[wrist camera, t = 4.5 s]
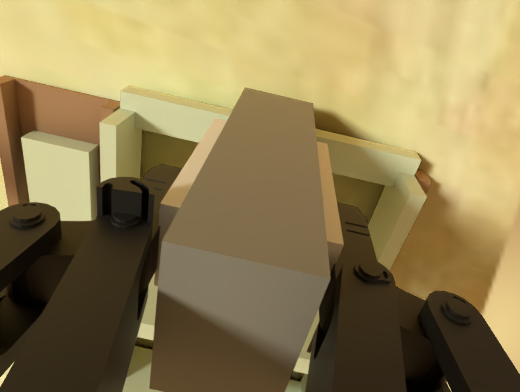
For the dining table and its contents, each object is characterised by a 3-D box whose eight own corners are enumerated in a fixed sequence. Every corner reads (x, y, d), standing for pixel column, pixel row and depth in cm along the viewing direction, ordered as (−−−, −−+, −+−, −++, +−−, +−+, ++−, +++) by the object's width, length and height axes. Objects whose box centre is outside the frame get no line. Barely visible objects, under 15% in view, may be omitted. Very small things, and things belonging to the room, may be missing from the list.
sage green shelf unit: (129, 55, 17) (-154, 170, 6) (428, 124, 17) (630, 345, 7) (123, 351, 27) (14, 575, 17) (306, 391, 28) (309, 635, 17)
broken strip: (33, 130, 19) (-45, 172, 15) (98, 144, 19) (39, 191, 15) (59, 348, 28) (15, 414, 24) (103, 357, 28) (67, 425, 24)
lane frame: (4, 75, 18) (-35, 86, 16) (425, 171, 18) (441, 195, 16) (45, 351, 29) (25, 380, 27) (310, 408, 29) (310, 441, 27)
